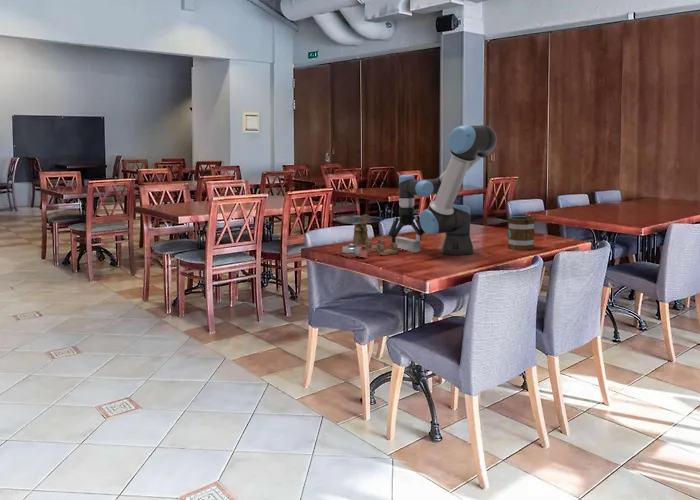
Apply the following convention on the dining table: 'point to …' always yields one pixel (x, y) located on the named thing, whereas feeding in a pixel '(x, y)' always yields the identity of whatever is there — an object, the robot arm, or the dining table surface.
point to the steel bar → (408, 244)
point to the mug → (521, 233)
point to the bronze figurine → (361, 230)
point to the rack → (382, 247)
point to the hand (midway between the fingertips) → (406, 249)
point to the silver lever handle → (354, 250)
